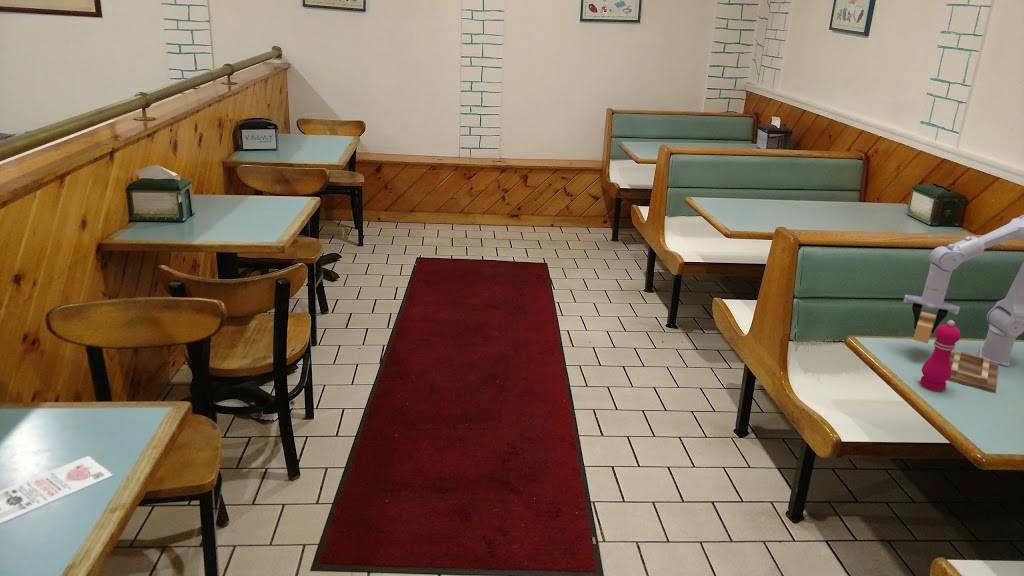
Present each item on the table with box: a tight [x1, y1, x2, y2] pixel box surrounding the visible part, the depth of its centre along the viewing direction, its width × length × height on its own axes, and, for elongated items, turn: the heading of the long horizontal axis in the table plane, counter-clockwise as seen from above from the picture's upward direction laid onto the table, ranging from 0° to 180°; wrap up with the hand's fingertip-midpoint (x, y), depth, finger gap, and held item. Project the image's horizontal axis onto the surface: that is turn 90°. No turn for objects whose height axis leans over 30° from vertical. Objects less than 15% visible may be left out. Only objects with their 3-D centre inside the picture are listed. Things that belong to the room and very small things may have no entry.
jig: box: [948, 350, 999, 394], centre depth 220 cm, size 20×14×2 cm
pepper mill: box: [919, 319, 961, 392], centre depth 208 cm, size 7×7×20 cm
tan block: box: [912, 311, 937, 344], centre depth 227 cm, size 12×4×5 cm, turn 147°
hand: (924, 329), depth 227 cm, fingers closed on tan block, 4 cm apart
